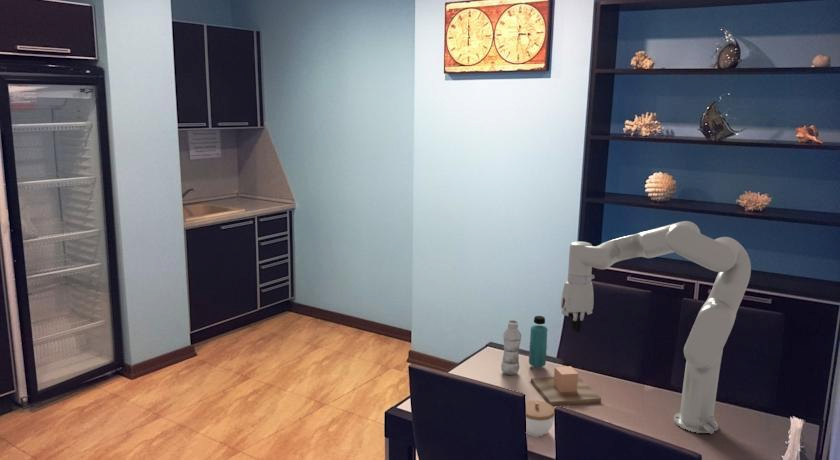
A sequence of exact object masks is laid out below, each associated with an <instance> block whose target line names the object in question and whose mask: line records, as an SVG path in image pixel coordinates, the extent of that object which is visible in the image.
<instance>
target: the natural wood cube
mask: <svg viewBox="0 0 840 460" xmlns="http://www.w3.org/2000/svg"><path fill="white" fill-rule="evenodd" d="M553 370H554V373H553V377H554V384H553V385H554V386H555V387H556V388H557V389H558V390H559V391H560V392H573V391H577V384H578V376H579V373H578V371H576V370H575V369H574V368H573V367H572V366H570V365H569V366H554V369H553Z"/></svg>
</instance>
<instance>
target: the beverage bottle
mask: <svg viewBox="0 0 840 460" xmlns="http://www.w3.org/2000/svg"><path fill="white" fill-rule="evenodd" d="M533 323H535V324H533V325H532V326H530V336H529V338H530V339H529V351H528V364H529V365H530V366H533V367H536V368H541V367H545V366H546V363H547V349H548V344H547V343H548V331H549V330H548V327H547V326H546V325H545V324H546V317H544V316H542V315H535V316H534V318H533Z"/></svg>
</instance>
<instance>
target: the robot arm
mask: <svg viewBox="0 0 840 460" xmlns="http://www.w3.org/2000/svg"><path fill="white" fill-rule="evenodd" d="M674 253H675V254H677V255H678V256H681V257H682V258H684V259H686V260H687V261H691V262H692V263H695V264H697V265H699V266H700V267H703V268H706V269H708V270H710V271H713V272H715V273H716V272H718V273H717V276H716V278H715V281H714V283H713V285H712V289H711V290H710V293H709V294H708V297H707V299H706V301H705V302H704V303H703V305H702V306H701V307H700V310H699V311H698V314H697V316H696V318H695V321H694V323H693V325H692V328H691V330H690V332H689V335H688V336H687V339H686V342H685V344H684V347H683V354H684V355H683V356H684V359H685V360H686V362H685V368H684V369H685V370H684V377H683V384H682V393H681V401H680V409H679V412H676V413H675V414H674V417H673V421H674V423H675V424H676V425H677V426H678V427H679V426H680V428H681V429H683V430H685V429H686V431H687V430H688V432H690V431H691V433H694V432H696V433H695V434H699V433H710V435H712V434H715V432H714V431H716V430H717V431H718V430H719V428H720V427H719V425H718V423H717V421H716V417H715V416H714V414H715V407H716V400H717V399H716V398H717V392H718V383H719V378H720V370H721V363H722V357H723V351H724V348H725V345H726V343H727V341H728V338H729V336H730V334H731V332H732V329H733V326H734V325H735V320H736V318H737V313H738V310H739V307H740V305H741V303H742V300H743V298H744V295H745V293H746V291H747V287H748V285H749V282H750V279H751V273H752V266H751V265H752V263H751V259H750V257H749V254H748V252H747V251H746V249H745V248H744V246H743V245H742V244H741V243H740V242H739V241H738V240H736V239H734V238H733V237H730V236H721V237H718V238H715V239H714V238H712V237H709V236H706V235H704V234H702V233H701V229H700V228H699V227H698V225H697V224H696V223H694V222H692V221H689V220H684V221H678V222H676V223H670V224H668V225H664V226H660V227H656V228H653V229H649V230H646V231H640V232H638V233H635V234H630V235H627V236H626V235H625V236H622V237H618V238H615V239H611V240H608V241H605V242H602V243H600V244H599V245H596V246H593V245H592V243H590V242H587V241H574V242H572V243H570V245H569V253H568V255H569V256H568V267H567V268H568V271H567V280H566V281H565V282H564V284H563V288H562V293H561V299H560V308H561V309H562V310H561V315H562V316H565V317H569V318H570V319H571V320H570V322H571V323H570V328H571V330H572V331H573V332H574V333H577V332H578V333H581V329H582V323H583V322H582V321H584V318H585V317H586V316H587V315H591V314H593V309H594V303H595V302H594V285H593V283H592V280H594V279H595V276H596V275H595V274H592V270H593V268H594V269H597V270H606V269H609V268H610V267H611V266H613V265H614V264H616V263H618V262H622V261H625V260H630V259H634V258H635V259H636V258H640V257H641V258H646V259H653V258H656V257H661V256H665V255H669V254H674ZM717 431H716V432H717Z"/></svg>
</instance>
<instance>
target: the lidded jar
mask: <svg viewBox="0 0 840 460" xmlns="http://www.w3.org/2000/svg"><path fill="white" fill-rule="evenodd" d="M525 401H526V423H527V433H526V435H529V436H530V437H535V438H539V436H541V437H544V436H545V435H546V434H547V433H549V431H550V430H551V428H552V427H553V424H554V419H555V414H554V409H555V408H554V406H551V405H550V404H548V403H547V401H542V400H538V399H537V400H536V399H535V400H534V399H530V400H525ZM544 434H545V435H544ZM543 435H544V436H543Z"/></svg>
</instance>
